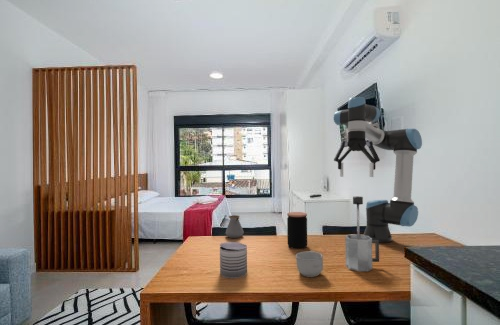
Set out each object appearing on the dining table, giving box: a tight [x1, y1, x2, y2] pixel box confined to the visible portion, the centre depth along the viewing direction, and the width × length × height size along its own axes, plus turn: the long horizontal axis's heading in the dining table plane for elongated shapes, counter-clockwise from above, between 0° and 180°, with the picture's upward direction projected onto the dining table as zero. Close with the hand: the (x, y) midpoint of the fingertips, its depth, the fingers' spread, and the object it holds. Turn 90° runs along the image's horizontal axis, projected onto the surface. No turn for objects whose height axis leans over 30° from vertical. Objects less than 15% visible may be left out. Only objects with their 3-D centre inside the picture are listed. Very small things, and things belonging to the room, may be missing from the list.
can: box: [219, 241, 248, 279], centre depth 117 cm, size 11×11×12 cm
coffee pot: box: [224, 214, 245, 239], centre depth 171 cm, size 21×12×15 cm, turn 12°
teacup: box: [295, 250, 324, 278], centre depth 116 cm, size 14×11×8 cm
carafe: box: [344, 233, 380, 273], centre depth 122 cm, size 14×10×13 cm
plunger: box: [352, 196, 364, 240], centre depth 122 cm, size 8×8×20 cm
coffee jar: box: [286, 211, 308, 250], centre depth 153 cm, size 11×11×18 cm
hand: (356, 176), depth 130 cm, fingers open, 13 cm apart
